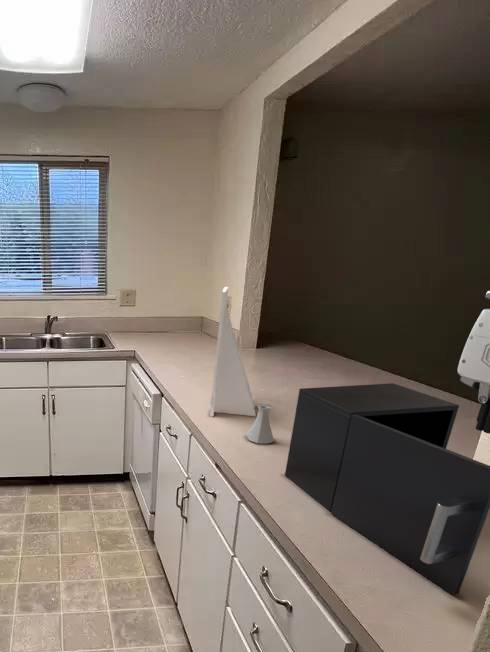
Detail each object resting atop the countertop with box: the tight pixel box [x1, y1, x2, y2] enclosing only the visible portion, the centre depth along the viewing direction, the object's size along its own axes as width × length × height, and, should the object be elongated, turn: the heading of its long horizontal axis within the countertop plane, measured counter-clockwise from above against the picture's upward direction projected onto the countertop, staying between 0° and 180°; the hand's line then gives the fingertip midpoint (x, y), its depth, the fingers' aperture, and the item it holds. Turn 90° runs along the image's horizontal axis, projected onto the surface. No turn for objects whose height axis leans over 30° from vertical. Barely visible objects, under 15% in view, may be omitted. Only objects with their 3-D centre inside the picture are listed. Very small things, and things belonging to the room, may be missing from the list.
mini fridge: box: [284, 382, 460, 513], centre depth 95 cm, size 16×24×22 cm, turn 99°
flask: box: [246, 404, 275, 445], centre depth 123 cm, size 7×7×10 cm
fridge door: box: [330, 414, 490, 596], centre depth 74 cm, size 6×24×22 cm, turn 17°
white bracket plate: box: [209, 286, 257, 418], centre depth 143 cm, size 20×14×40 cm
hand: (489, 430), depth 63 cm, fingers closed
